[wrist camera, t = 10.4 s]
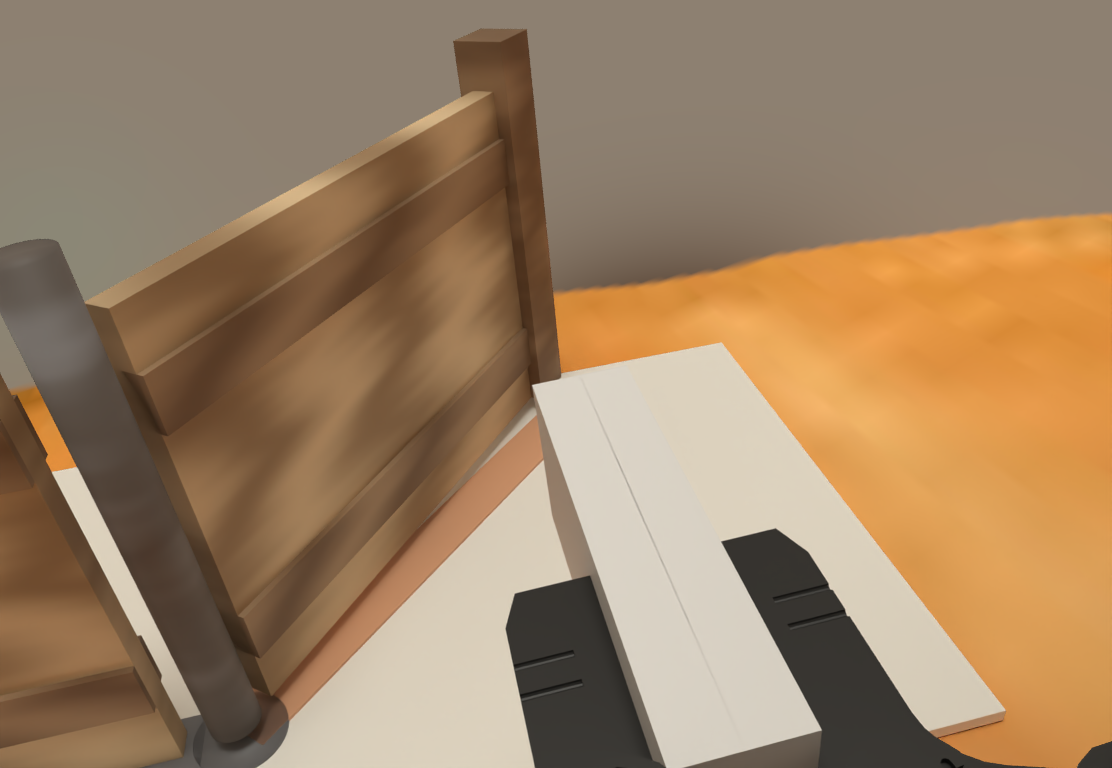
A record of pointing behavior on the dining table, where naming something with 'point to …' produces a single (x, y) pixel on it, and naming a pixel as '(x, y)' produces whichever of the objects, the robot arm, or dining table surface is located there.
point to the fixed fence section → (66, 632)
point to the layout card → (536, 561)
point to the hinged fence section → (304, 378)
